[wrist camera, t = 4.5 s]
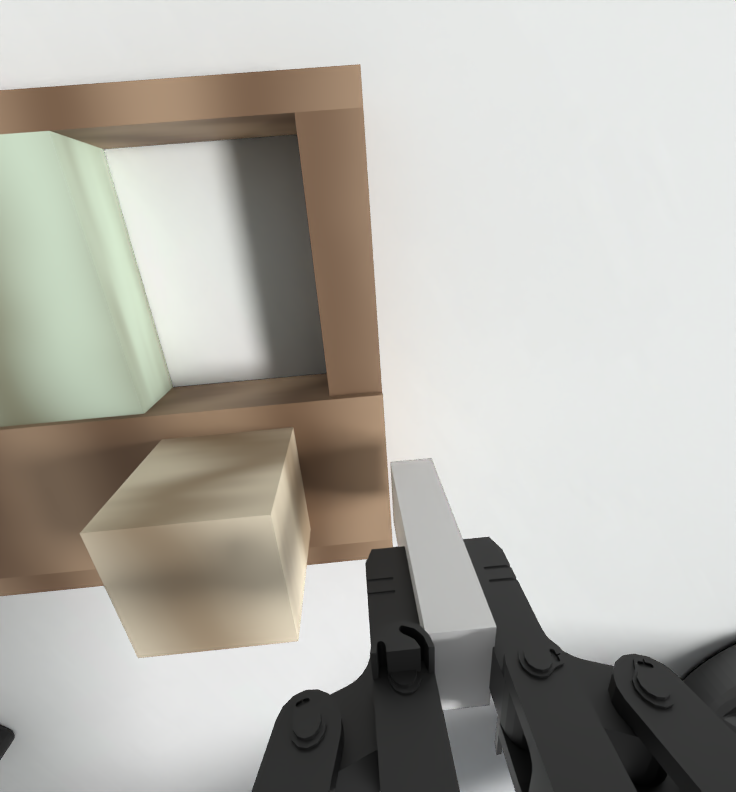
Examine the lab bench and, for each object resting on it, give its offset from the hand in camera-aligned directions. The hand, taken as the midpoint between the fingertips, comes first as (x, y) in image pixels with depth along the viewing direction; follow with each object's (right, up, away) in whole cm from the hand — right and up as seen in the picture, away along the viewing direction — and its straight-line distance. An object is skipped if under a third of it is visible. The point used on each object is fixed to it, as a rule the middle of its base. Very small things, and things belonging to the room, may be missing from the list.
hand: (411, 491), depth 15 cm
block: (-7, 0, +1) cm, 7 cm away
